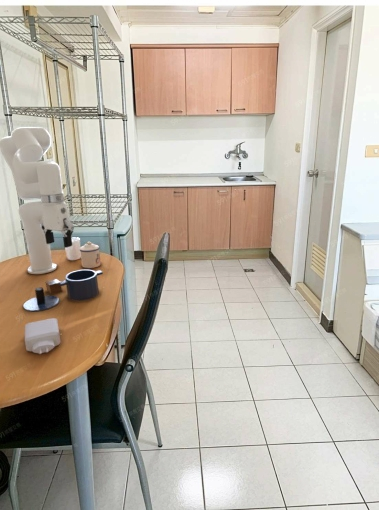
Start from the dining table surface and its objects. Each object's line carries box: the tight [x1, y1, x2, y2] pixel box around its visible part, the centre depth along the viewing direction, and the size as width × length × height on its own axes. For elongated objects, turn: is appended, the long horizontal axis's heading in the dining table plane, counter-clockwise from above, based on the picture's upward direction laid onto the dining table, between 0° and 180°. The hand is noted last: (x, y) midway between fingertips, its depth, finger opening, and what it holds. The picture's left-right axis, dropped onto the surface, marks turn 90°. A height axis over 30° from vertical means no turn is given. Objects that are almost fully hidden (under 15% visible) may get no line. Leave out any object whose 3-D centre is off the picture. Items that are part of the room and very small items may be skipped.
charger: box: [24, 317, 62, 355], centre depth 101 cm, size 5×9×15 cm
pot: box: [59, 269, 104, 302], centre depth 133 cm, size 11×17×8 cm
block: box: [45, 278, 63, 295], centre depth 137 cm, size 4×4×4 cm
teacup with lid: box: [80, 241, 102, 269], centre depth 166 cm, size 12×9×12 cm
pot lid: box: [22, 286, 60, 313], centre depth 126 cm, size 12×12×7 cm
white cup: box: [64, 236, 82, 261], centre depth 175 cm, size 8×8×10 cm
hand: (59, 244), depth 128 cm, fingers open, 9 cm apart
